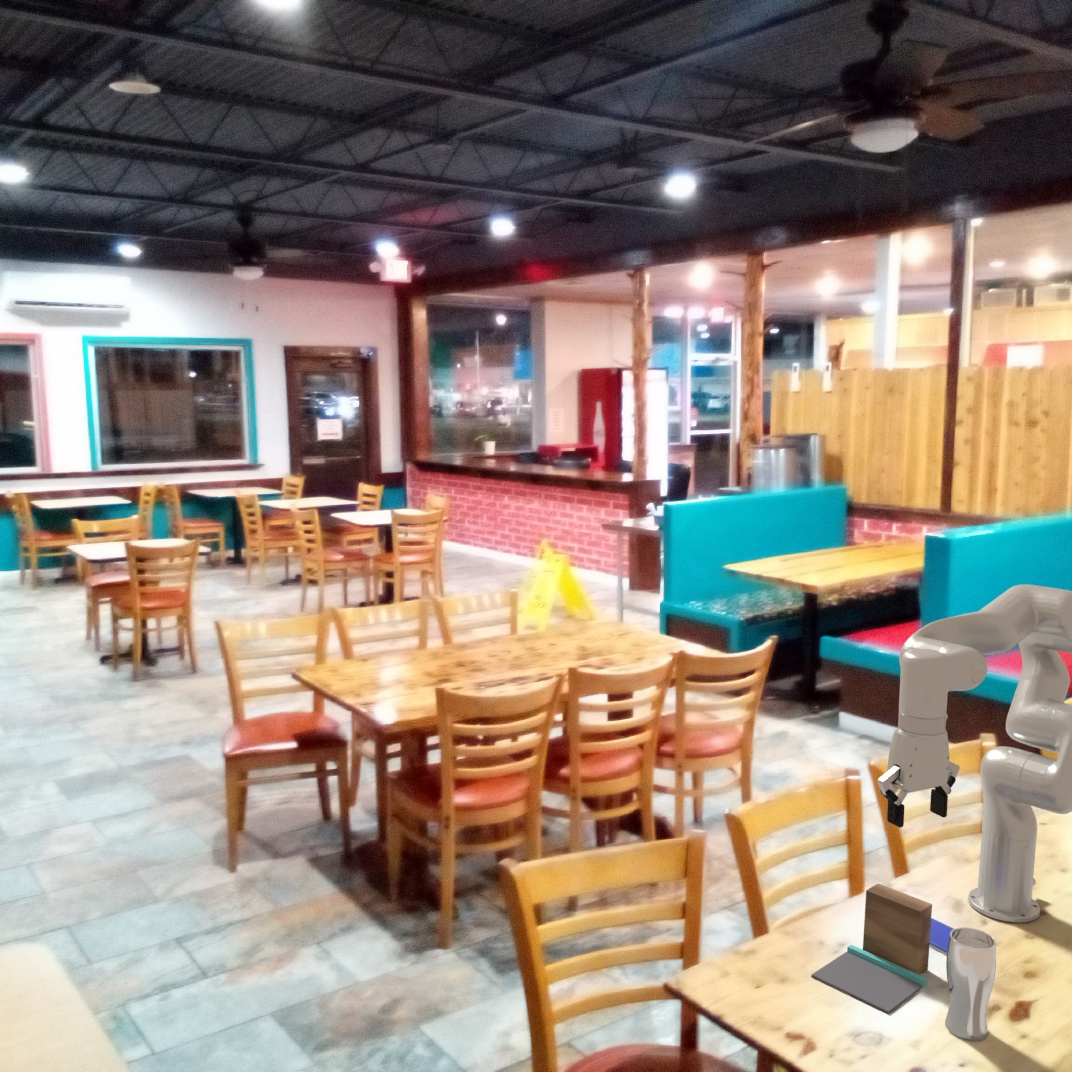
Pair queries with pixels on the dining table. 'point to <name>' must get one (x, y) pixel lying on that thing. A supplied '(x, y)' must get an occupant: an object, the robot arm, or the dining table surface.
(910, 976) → the stop strip
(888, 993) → the mat
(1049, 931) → the dining table surface
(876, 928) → the slab
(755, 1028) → the dining table surface
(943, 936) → the hard drive
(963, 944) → the beer glass
